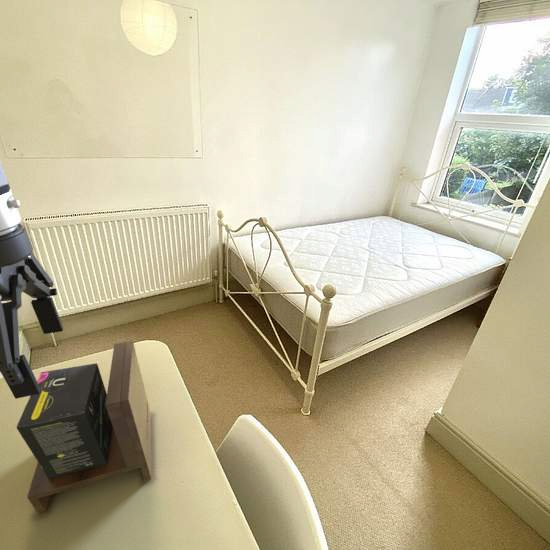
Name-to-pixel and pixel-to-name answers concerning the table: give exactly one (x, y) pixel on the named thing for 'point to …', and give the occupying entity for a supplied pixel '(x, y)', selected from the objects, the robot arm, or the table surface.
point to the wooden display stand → (124, 437)
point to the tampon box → (68, 421)
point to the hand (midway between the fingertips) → (42, 359)
